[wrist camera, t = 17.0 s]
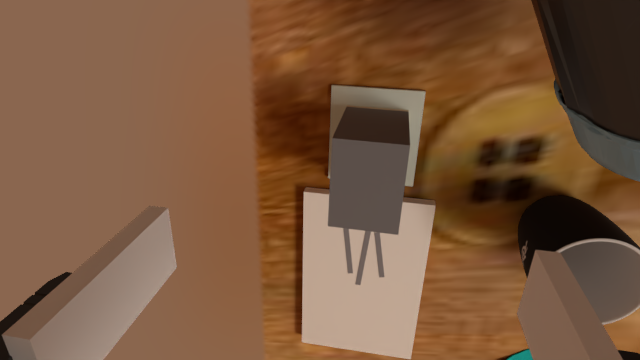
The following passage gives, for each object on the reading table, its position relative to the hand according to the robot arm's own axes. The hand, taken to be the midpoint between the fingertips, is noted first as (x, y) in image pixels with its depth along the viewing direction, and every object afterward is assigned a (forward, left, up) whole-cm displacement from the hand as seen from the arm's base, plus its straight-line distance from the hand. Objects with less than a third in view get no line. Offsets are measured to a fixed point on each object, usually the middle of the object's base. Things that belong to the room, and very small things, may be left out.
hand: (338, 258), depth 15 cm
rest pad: (+4, +4, -29) cm, 29 cm away
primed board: (+16, +16, -29) cm, 37 cm away
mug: (-4, +24, -29) cm, 38 cm away
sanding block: (+4, +4, -28) cm, 29 cm away
